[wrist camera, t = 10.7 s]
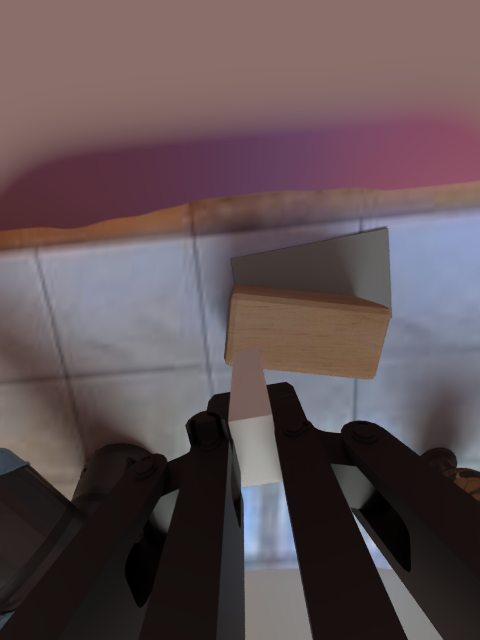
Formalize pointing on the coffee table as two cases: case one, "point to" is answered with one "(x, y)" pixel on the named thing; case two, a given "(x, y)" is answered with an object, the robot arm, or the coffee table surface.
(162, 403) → the coffee table surface
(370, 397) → the coffee table surface
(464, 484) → the vase
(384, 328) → the block
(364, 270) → the mat
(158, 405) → the coffee table surface
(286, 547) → the coffee table surface
